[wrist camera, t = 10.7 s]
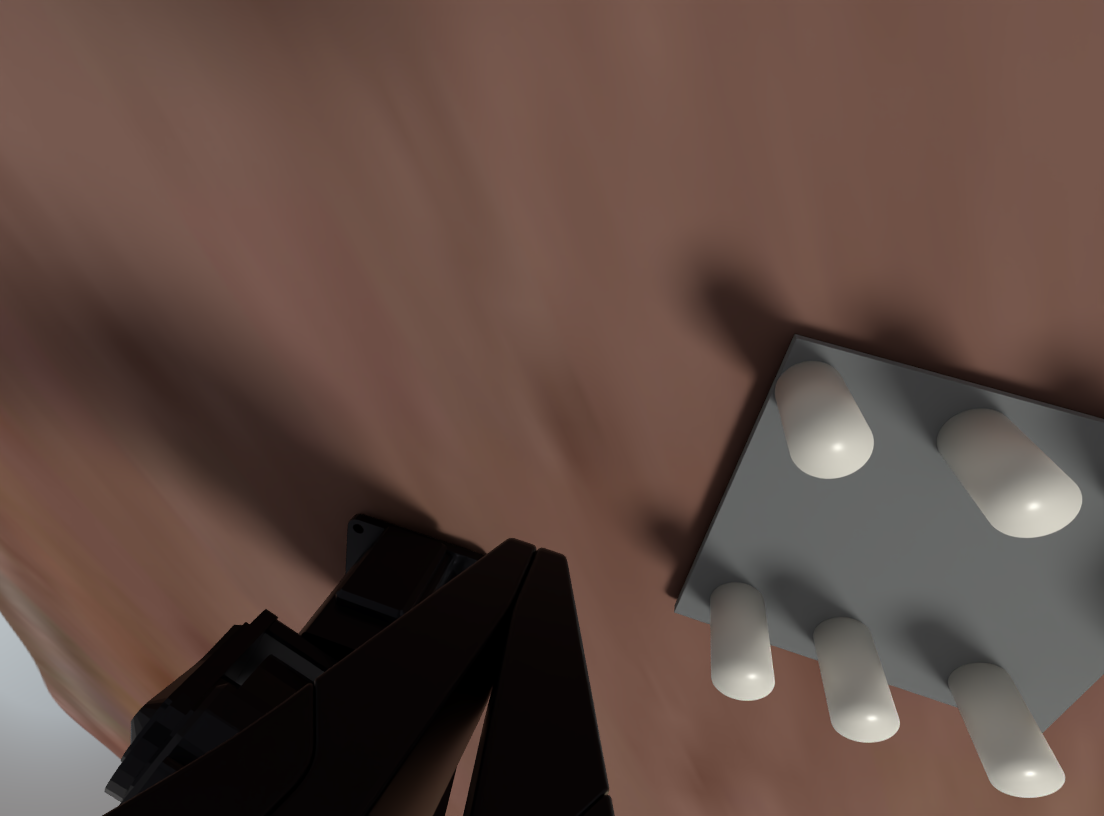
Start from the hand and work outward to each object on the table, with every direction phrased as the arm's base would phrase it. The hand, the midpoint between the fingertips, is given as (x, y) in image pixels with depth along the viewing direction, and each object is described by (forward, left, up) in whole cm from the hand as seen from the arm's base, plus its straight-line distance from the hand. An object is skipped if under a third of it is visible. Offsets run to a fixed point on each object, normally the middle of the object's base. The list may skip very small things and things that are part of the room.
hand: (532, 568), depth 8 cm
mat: (-5, -12, -12) cm, 18 cm away
